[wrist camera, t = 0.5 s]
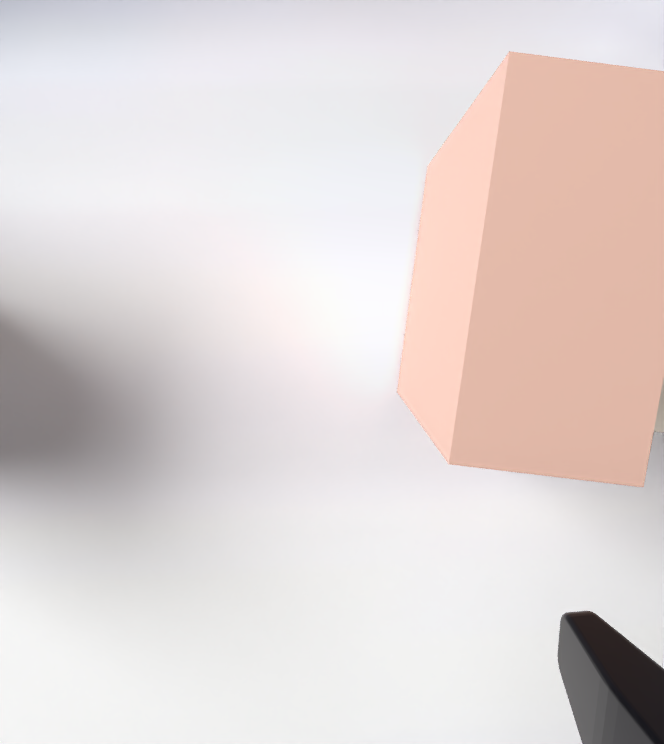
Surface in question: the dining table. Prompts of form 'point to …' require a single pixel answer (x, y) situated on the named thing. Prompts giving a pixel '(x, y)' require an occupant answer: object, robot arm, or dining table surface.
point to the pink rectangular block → (544, 275)
